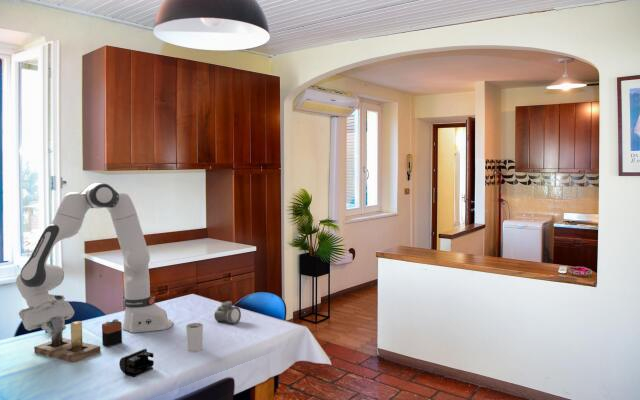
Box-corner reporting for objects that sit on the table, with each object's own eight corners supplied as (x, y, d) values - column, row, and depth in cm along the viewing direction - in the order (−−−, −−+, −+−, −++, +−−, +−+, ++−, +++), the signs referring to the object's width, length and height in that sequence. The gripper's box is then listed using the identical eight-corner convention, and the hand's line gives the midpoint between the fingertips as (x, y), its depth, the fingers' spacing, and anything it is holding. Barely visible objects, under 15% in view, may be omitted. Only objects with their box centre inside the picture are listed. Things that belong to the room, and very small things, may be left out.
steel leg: (64, 344, 205) (63, 316, 205) (60, 348, 201) (59, 319, 201) (54, 345, 205) (53, 316, 204) (50, 348, 201) (49, 319, 200)
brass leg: (84, 352, 200) (83, 321, 199) (80, 356, 196) (79, 324, 195) (74, 353, 199) (72, 321, 199) (70, 356, 196) (69, 324, 195)
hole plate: (34, 352, 200) (34, 346, 200) (61, 343, 211) (61, 337, 211) (74, 362, 190) (73, 356, 190) (100, 352, 200) (100, 346, 200)
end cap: (141, 364, 187) (141, 347, 187) (154, 368, 184) (154, 350, 183) (119, 374, 179) (118, 355, 178) (132, 378, 175) (132, 359, 175)
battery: (122, 342, 211) (121, 319, 211) (107, 347, 206) (106, 323, 205) (117, 340, 214) (116, 318, 213) (102, 345, 209) (101, 321, 208)
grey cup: (188, 353, 198) (188, 328, 198) (185, 348, 204) (184, 324, 204) (205, 350, 202) (204, 326, 201) (201, 345, 207) (200, 321, 207)
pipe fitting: (243, 320, 240) (239, 300, 240) (232, 326, 233) (228, 305, 233) (224, 319, 246) (220, 299, 246) (213, 325, 239) (209, 305, 239)
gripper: (20, 306, 196) (36, 333, 192) (66, 294, 214) (82, 319, 210) (13, 315, 198) (29, 343, 194) (60, 303, 216) (76, 328, 212)
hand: (57, 331), depth 202 cm, fingers closed on steel leg, 4 cm apart
